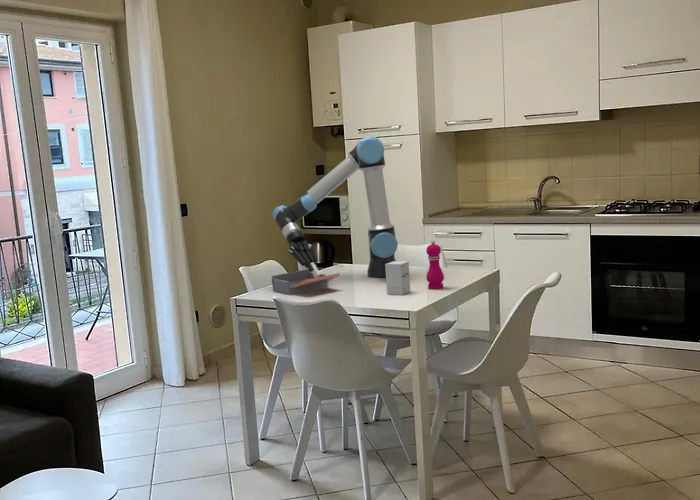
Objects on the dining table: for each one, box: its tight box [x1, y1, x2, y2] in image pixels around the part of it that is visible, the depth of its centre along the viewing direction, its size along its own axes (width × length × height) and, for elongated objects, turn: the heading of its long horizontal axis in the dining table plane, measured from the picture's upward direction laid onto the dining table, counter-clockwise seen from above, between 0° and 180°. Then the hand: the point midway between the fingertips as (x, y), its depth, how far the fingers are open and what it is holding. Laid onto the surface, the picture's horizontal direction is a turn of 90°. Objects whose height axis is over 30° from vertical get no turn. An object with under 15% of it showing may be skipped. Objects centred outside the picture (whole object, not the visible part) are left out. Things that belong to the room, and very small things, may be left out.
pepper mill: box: [426, 239, 445, 290], centre depth 290 cm, size 7×7×20 cm
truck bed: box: [271, 269, 330, 296], centre depth 311 cm, size 15×21×7 cm
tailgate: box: [292, 272, 341, 288], centre depth 301 cm, size 2×17×12 cm
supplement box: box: [385, 260, 411, 296], centre depth 286 cm, size 7×7×13 cm
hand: (317, 276), depth 299 cm, fingers closed
